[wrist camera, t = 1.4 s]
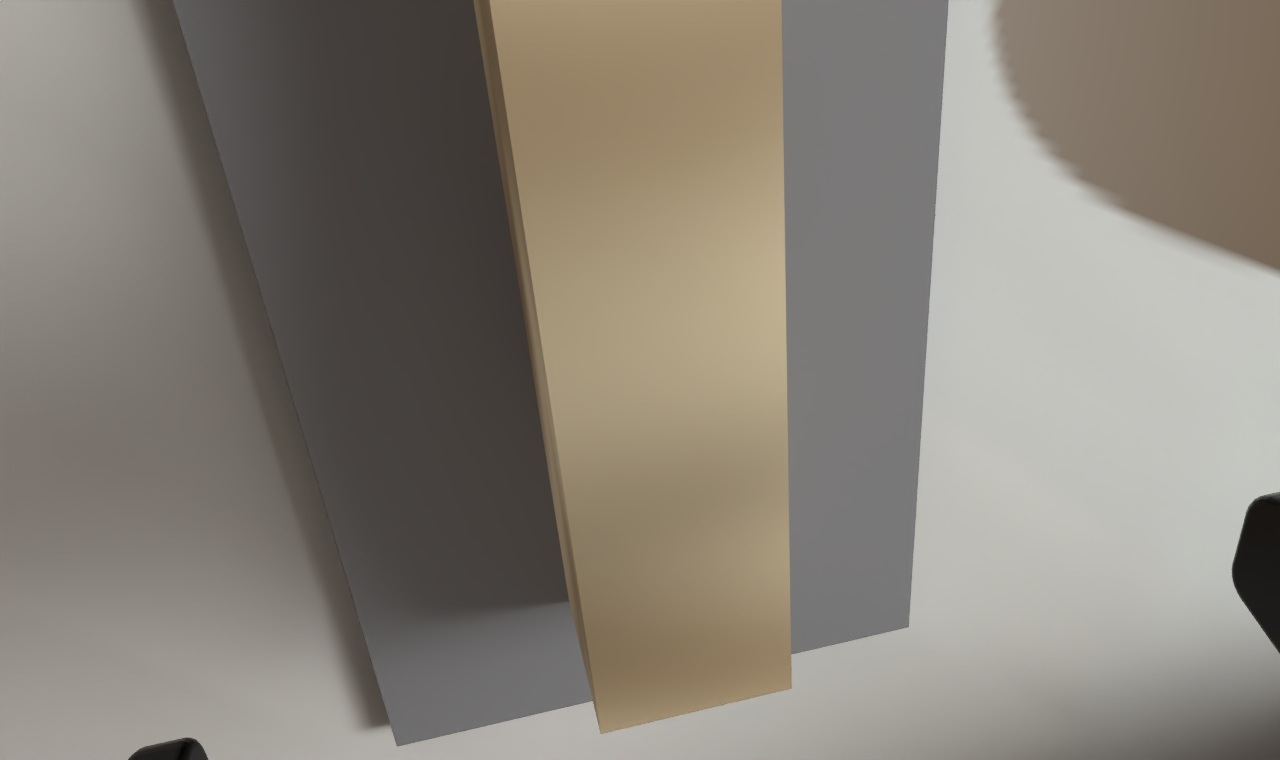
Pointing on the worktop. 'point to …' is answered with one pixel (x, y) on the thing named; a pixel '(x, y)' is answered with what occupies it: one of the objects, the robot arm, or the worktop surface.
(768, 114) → the stick
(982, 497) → the worktop surface
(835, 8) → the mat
